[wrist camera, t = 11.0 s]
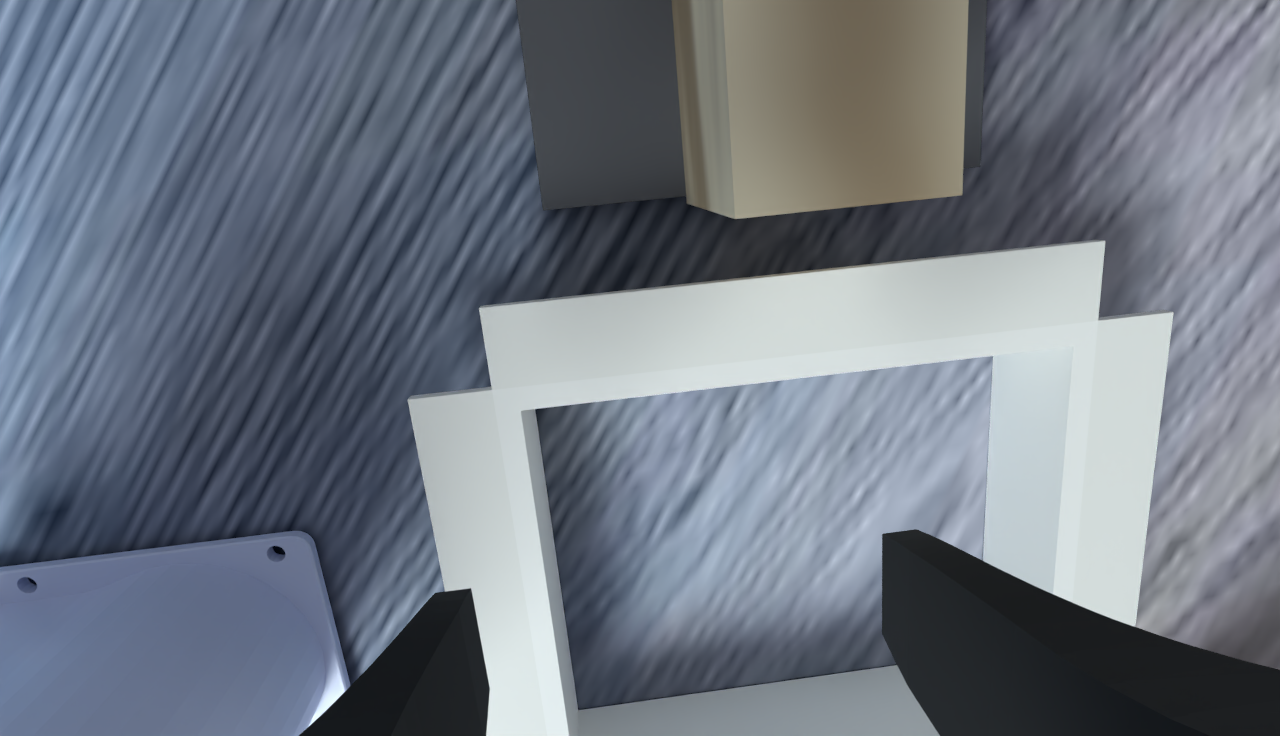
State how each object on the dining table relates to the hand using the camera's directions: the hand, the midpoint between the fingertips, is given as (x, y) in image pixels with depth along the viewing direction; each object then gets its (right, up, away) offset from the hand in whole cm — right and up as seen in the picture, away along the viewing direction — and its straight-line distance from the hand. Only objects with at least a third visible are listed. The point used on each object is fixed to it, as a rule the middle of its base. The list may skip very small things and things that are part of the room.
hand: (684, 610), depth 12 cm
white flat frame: (+4, -1, +10) cm, 11 cm away
